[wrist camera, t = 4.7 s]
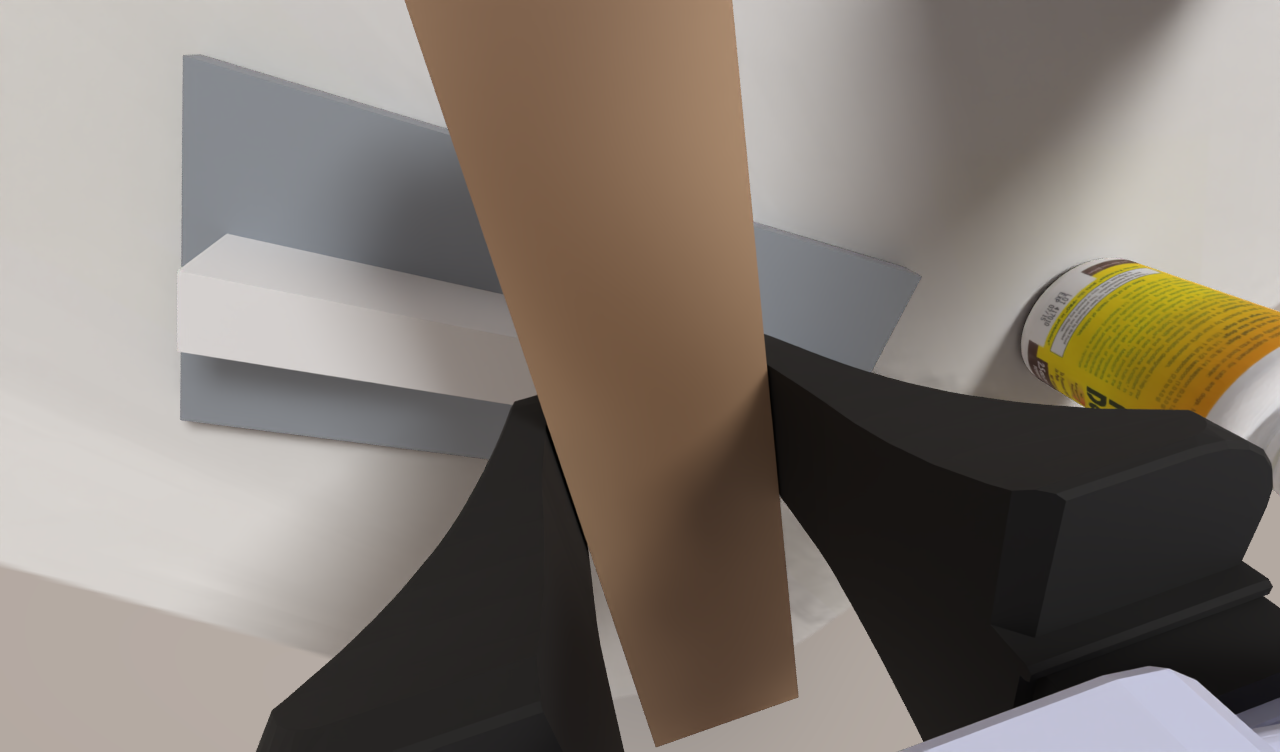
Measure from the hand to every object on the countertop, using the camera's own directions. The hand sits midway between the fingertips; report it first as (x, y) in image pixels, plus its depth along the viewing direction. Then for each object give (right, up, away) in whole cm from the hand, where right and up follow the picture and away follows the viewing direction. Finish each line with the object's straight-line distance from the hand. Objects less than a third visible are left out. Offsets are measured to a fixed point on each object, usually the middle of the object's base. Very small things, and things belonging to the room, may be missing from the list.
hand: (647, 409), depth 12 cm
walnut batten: (-1, +1, +2) cm, 2 cm away
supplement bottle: (+18, +3, +14) cm, 23 cm away
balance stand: (-2, +2, +9) cm, 9 cm away
